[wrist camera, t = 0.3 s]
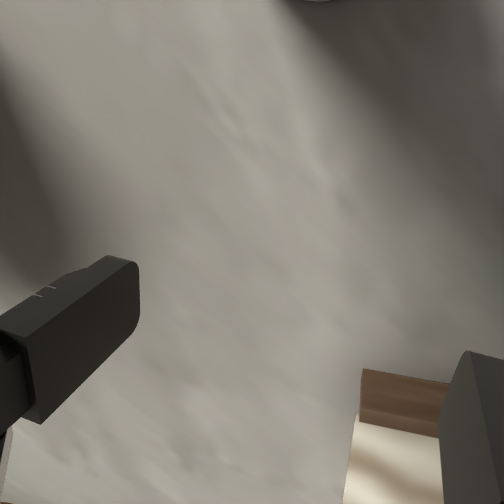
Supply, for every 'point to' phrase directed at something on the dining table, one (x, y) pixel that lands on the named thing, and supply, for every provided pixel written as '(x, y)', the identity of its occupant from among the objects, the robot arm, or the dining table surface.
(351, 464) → the bay
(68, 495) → the dining table surface
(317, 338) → the dining table surface
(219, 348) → the dining table surface
